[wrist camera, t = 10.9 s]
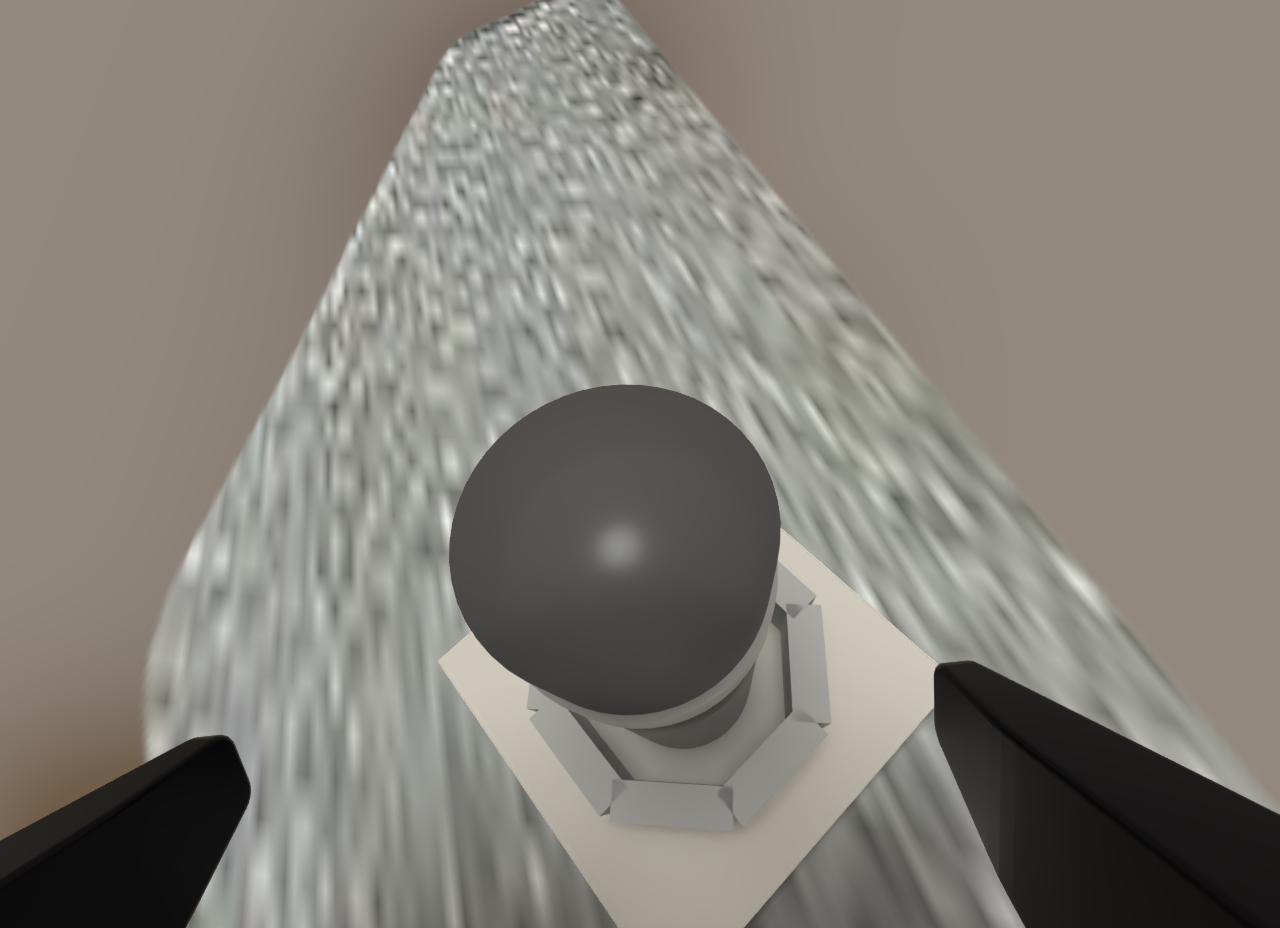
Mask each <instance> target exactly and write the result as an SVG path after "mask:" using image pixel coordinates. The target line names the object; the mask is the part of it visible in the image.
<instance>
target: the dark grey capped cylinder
mask: <svg viewBox="0 0 1280 928" xmlns="http://www.w3.org/2000/svg"><path fill="white" fill-rule="evenodd" d="M780 525H781V521H780V514H779V506H778V500H777V496H776V493H775V489H774V486H773V482H772V480H771V477H770V475H769V473H768V471H767V468H766V466H765V464H764V462H763V460H762V459H761V457H760V456H759V454H758V452H757V451H756V449H755V448H754V446H753V445H752V444H751V443H750V441H749V440H748V439H747V438H746V437H745V435H744V434H743V433H742V432H741V431H740V430H739V429H738V428H737V427H736V426H735V425H734V424H733V423H731V422H730V421H729V420H728V419H727V418H726V417H724V416H723V415H721V414H720V413H719V412H717V411H716V410H714V409H713V408H711V407H709V406H708V405H706V404H704V403H702V402H700V401H698V400H696V399H694V398H691V397H689V396H686V395H684V394H681V393H678V392H675V391H671V390H667V389H663V388H659V387H651V386H644V385H612V386H602V387H597V388H592V389H587V390H582V391H579V392H576V393H573V394H569V395H566V396H564V397H561V398H559V399H557V400H554V401H552V402H550V403H547V404H546V405H544V406H542V407H540V408H538V409H537V410H535V411H533V412H531V413H530V414H528V415H527V416H525V417H524V418H523V419H521V420H520V421H518V422H517V423H516V424H514V425H513V426H512V427H511V428H510V429H509V430H508V431H506V432H505V433H504V434H503V435H502V436H501V437H500V438H499V439H498V440H497V441H496V442H495V443H494V444H493V445H492V446H491V448H490V449H489V450H488V451H487V452H486V453H485V455H484V456H483V458H482V459H481V460H480V462H479V463H478V464H477V466H476V467H475V469H474V471H473V472H472V474H471V476H470V478H469V479H468V481H467V483H466V485H465V487H464V490H463V492H462V494H461V497H460V499H459V502H458V504H457V508H456V512H455V515H454V519H453V522H452V529H451V536H450V549H449V564H450V572H451V580H452V585H453V589H454V592H455V596H456V600H457V603H458V605H459V608H460V610H461V612H462V614H463V617H464V619H465V621H466V623H467V625H468V626H469V628H470V629H471V631H472V633H473V634H474V636H475V637H476V639H477V640H478V641H479V642H480V644H481V645H482V646H483V647H484V648H485V649H486V651H487V652H488V653H489V654H490V655H491V656H492V657H493V658H494V659H495V660H496V661H498V662H499V663H500V664H501V665H502V666H503V667H505V668H506V669H507V670H508V671H510V672H511V673H513V674H515V675H516V676H518V677H519V678H521V679H523V680H524V681H526V682H528V683H530V684H531V685H533V686H534V687H535V688H536V689H537V690H538V691H540V692H541V693H542V694H543V695H544V696H546V697H547V698H549V699H550V700H552V701H554V702H555V703H557V704H558V705H560V706H562V707H564V708H566V709H568V710H570V711H573V712H575V713H577V714H580V715H582V716H584V717H587V718H589V719H591V720H594V721H596V722H599V723H603V724H607V725H610V726H614V727H622V728H625V729H627V730H629V731H631V732H633V733H636V734H638V735H640V736H642V737H644V738H646V739H648V740H650V741H653V742H655V743H657V744H659V745H662V746H666V747H670V748H678V749H689V748H695V747H700V746H703V745H706V744H708V743H710V742H712V741H714V740H716V739H718V738H719V737H721V736H722V735H724V734H725V733H726V732H727V731H728V730H729V729H730V728H731V727H732V726H733V725H734V723H735V722H736V721H737V720H738V718H739V716H740V715H741V713H742V711H743V709H744V707H745V705H746V702H747V698H748V695H749V691H750V686H751V682H752V677H753V672H754V668H755V663H756V659H757V658H758V656H759V654H760V651H761V649H762V647H763V645H764V643H765V640H766V637H767V633H768V630H769V626H770V623H771V619H772V615H773V611H774V607H775V602H776V595H777V589H778V563H777V561H778V555H779V548H780Z"/></svg>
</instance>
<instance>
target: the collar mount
mask: <svg viewBox="0 0 1280 928" xmlns="http://www.w3.org/2000/svg"><path fill="white" fill-rule="evenodd" d="M777 563H778V589H777V595H776V602H775V607H774V611H773V615H772V619H771V623H770V626H769V630H768V633H767V637H766V640H765V643H764V645H763V647H762V649H761V651H760V654H759V656H758V658H757V659H756V663H755V668H754V672H753V677H752V682H751V686H750V691H749V695H748V698H747V702H746V705H745V707H744V709H743V711H742V713H741V715H740V716H739V718H738V720H737V721H736V722H735V723H734V725H733V726H732V727H731V728H730V729H729V730H728V731H727V732H726V733H725V734H724V735H722V736H721V737H719V738H718V739H716V740H714V741H712V742H710V743H708V744H706V745H703V746H700V747H695V748H689V749H678V748H670V747H666V746H662V745H659V744H657V743H655V742H653V741H650V740H648V739H646V738H644V737H642V736H640V735H638V734H636V733H633V732H631V731H629V730H627V729H625V728H622V727H614V726H610V725H607V724H603V723H599V722H596V721H594V720H591V719H589V718H587V717H584V716H582V715H580V714H577V713H575V712H573V711H570V710H568V709H566V708H564V707H562V706H560V705H558V704H557V703H555V702H554V701H552V700H550V699H549V698H547V697H546V696H544V695H543V694H542V693H541V692H540V691H538V690H537V689H536V688H535V687H534V686H533V685H531V684H530V683H528V682H526V681H524V680H523V679H521V678H519V677H518V676H516V675H515V674H513V673H511V672H510V671H508V670H507V669H506V668H505V667H503V666H502V665H501V664H500V663H499V662H498V661H496V660H495V659H494V658H493V657H492V656H491V655H490V654H489V653H488V652H487V651H486V649H485V648H484V647H483V646H482V645H481V644H480V642H479V641H478V640H477V639H476V637H475V636H474V634H473V633H472V632H470V633H469V634H468V635H467V636H466V637H465V638H463V639H462V640H461V641H460V642H459V643H458V644H457V645H455V646H454V647H453V648H452V649H451V650H450V651H448V652H447V653H446V654H445V655H444V656H443V657H442V658H440V659H439V660H438V662H439V664H440V665H441V667H442V668H443V670H444V671H445V673H446V674H447V676H448V677H449V679H450V680H451V682H452V683H453V685H454V686H455V688H456V689H457V691H458V692H459V693H460V695H461V696H462V698H463V699H464V701H465V702H466V704H467V705H468V707H469V708H470V710H471V711H472V713H473V714H474V716H475V717H476V719H477V720H478V722H479V723H480V725H481V726H482V727H483V729H484V730H485V732H486V733H487V735H488V736H489V738H490V739H491V741H492V742H493V744H494V745H495V747H496V748H497V750H498V751H499V753H500V754H501V756H502V757H503V759H504V760H505V761H506V763H507V764H508V766H509V767H510V769H511V770H512V772H513V773H514V775H515V776H516V778H517V779H518V781H519V782H520V784H521V785H522V787H523V788H524V790H525V791H526V792H527V794H528V795H529V797H530V798H531V800H532V801H533V803H534V804H535V806H536V807H537V809H538V810H539V812H540V813H541V815H542V816H543V818H544V819H545V821H546V822H547V824H548V825H549V826H550V828H551V829H552V831H553V832H554V834H555V835H556V837H557V838H558V840H559V841H560V843H561V844H562V846H563V847H564V849H565V850H566V852H567V853H568V855H569V856H570V857H571V859H572V860H573V862H574V863H575V865H576V866H577V868H578V869H579V871H580V872H581V874H582V875H583V877H584V878H585V880H586V881H587V883H588V884H589V886H590V887H591V889H592V890H593V891H594V893H595V894H596V896H597V897H598V899H599V900H600V902H601V903H602V905H603V906H604V908H605V909H606V911H607V912H608V914H609V915H610V917H611V918H612V920H613V921H614V923H615V924H616V925H617V927H618V928H744V927H745V926H746V925H747V924H748V922H749V921H750V920H751V919H752V918H753V917H754V915H755V914H756V913H757V912H758V911H759V910H760V908H761V907H762V906H763V905H764V904H765V903H766V901H767V900H768V899H769V898H770V897H771V896H772V894H773V893H774V892H775V891H776V890H777V889H778V888H779V886H780V885H781V884H782V883H783V882H784V881H785V879H786V878H787V877H788V876H789V875H790V874H791V872H792V871H793V870H794V869H795V868H796V867H797V865H798V864H799V863H800V862H801V861H802V860H803V859H804V857H805V856H806V855H807V854H808V853H809V852H810V850H811V849H812V848H813V847H814V846H815V845H816V843H817V842H818V841H819V840H820V839H821V838H822V836H823V835H824V834H825V833H826V832H827V831H828V829H829V828H830V827H831V826H832V825H833V824H834V823H835V821H836V820H837V819H838V818H839V817H840V816H841V814H842V813H843V812H844V811H845V810H846V809H847V807H848V806H849V805H850V804H851V803H852V802H853V800H854V799H855V798H856V797H857V796H858V795H859V793H860V792H861V791H862V790H863V789H864V788H865V787H866V785H867V784H868V783H869V782H870V781H871V780H872V778H873V777H874V776H875V775H876V774H877V773H878V771H879V770H880V769H881V768H882V767H883V766H884V764H885V763H886V762H887V761H888V760H889V759H890V757H891V756H892V755H893V754H894V753H895V752H896V751H897V749H898V748H899V747H900V746H901V745H902V744H903V742H904V741H905V740H906V739H907V738H908V737H909V735H910V734H911V733H912V732H913V731H914V730H915V728H916V727H917V726H918V725H919V724H920V723H921V721H922V720H923V719H924V718H925V717H926V716H927V715H928V713H929V712H930V711H931V710H932V709H933V708H934V671H935V667H936V666H937V665H938V664H937V663H936V662H935V661H934V660H933V659H931V658H930V657H929V656H928V655H927V654H926V653H925V652H923V651H922V650H921V649H920V648H919V647H918V646H917V645H915V644H914V643H913V642H912V641H911V640H910V639H908V638H907V637H906V636H905V635H904V634H903V633H902V632H900V631H899V630H898V629H897V628H896V627H895V626H894V625H892V624H891V623H890V622H889V621H888V620H887V619H885V618H884V617H883V616H882V615H881V614H880V613H879V612H877V611H876V610H875V609H874V608H873V607H872V606H871V605H869V604H868V603H867V602H866V601H865V600H864V599H862V598H861V597H860V596H859V595H858V594H857V593H856V592H854V591H853V590H852V589H851V588H850V587H849V586H848V585H846V584H845V583H844V582H843V581H842V580H841V579H839V578H838V577H837V576H836V575H835V574H834V573H833V572H831V571H830V570H829V569H828V568H827V567H826V566H825V565H823V564H822V563H821V562H820V561H819V560H818V559H816V558H815V557H814V556H813V555H812V554H811V553H810V552H808V551H807V550H806V549H805V548H804V547H803V546H802V545H800V544H799V543H798V542H797V541H796V540H795V539H793V538H792V537H791V536H790V535H789V534H788V533H787V532H785V531H784V530H783V529H782V528H781V527H780V548H779V555H778V561H777Z"/></svg>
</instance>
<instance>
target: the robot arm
mask: <svg viewBox="0 0 1280 928" xmlns="http://www.w3.org/2000/svg"><path fill="white" fill-rule="evenodd" d="M934 722H935V729H936V733H937V737H938V740H939V743H940V745H941V748H942V750H943V752H944V755H945V757H946V759H947V762H948V764H949V766H950V768H951V771H952V773H953V775H954V778H955V780H956V782H957V785H958V787H959V789H960V791H961V794H962V796H963V798H964V801H965V803H966V805H967V807H968V810H969V812H970V814H971V817H972V819H973V821H974V824H975V826H976V828H977V830H978V833H979V835H980V837H981V840H982V842H983V844H984V846H985V849H986V851H987V853H988V856H989V858H990V860H991V862H992V864H993V866H994V869H995V871H996V873H997V875H998V877H999V879H1000V881H1001V883H1002V885H1003V887H1004V889H1005V891H1006V893H1007V895H1008V896H1009V898H1010V900H1011V902H1012V904H1013V906H1014V908H1015V909H1016V911H1017V913H1018V915H1019V917H1020V918H1021V920H1022V922H1023V924H1024V926H1025V927H1026V928H1280V814H1278V813H1276V812H1274V811H1272V810H1270V809H1268V808H1266V807H1264V806H1262V805H1260V804H1258V803H1256V802H1254V801H1252V800H1250V799H1248V798H1246V797H1244V796H1242V795H1240V794H1238V793H1236V792H1234V791H1232V790H1230V789H1228V788H1226V787H1224V786H1222V785H1220V784H1218V783H1216V782H1214V781H1212V780H1210V779H1208V778H1206V777H1204V776H1202V775H1200V774H1198V773H1196V772H1194V771H1192V770H1190V769H1188V768H1186V767H1184V766H1182V765H1180V764H1178V763H1176V762H1174V761H1172V760H1170V759H1168V758H1166V757H1164V756H1162V755H1160V754H1158V753H1156V752H1154V751H1152V750H1150V749H1148V748H1146V747H1144V746H1142V745H1140V744H1138V743H1136V742H1134V741H1132V740H1130V739H1128V738H1126V737H1124V736H1122V735H1120V734H1118V733H1116V732H1114V731H1112V730H1110V729H1108V728H1106V727H1104V726H1102V725H1100V724H1098V723H1096V722H1094V721H1092V720H1090V719H1088V718H1086V717H1084V716H1082V715H1080V714H1078V713H1076V712H1074V711H1072V710H1070V709H1068V708H1066V707H1064V706H1062V705H1060V704H1058V703H1056V702H1054V701H1052V700H1050V699H1048V698H1046V697H1044V696H1042V695H1040V694H1038V693H1036V692H1034V691H1032V690H1030V689H1028V688H1026V687H1024V686H1022V685H1021V684H1019V683H1017V682H1015V681H1013V680H1011V679H1009V678H1007V677H1005V676H1003V675H1001V674H999V673H997V672H995V671H993V670H991V669H989V668H987V667H985V666H983V665H981V664H979V663H976V662H974V661H958V662H948V663H940V664H939V665H937V666H936V667H935V671H934ZM250 795H251V785H250V781H249V779H248V776H247V774H246V771H245V769H244V766H243V764H242V761H241V759H240V756H239V754H238V751H237V749H236V746H235V744H234V742H233V741H232V740H231V739H230V738H229V737H228V736H224V735H214V736H204V737H196V738H193V739H190V740H188V741H186V742H184V743H182V744H180V745H179V746H177V747H175V748H173V749H171V750H169V751H167V752H165V753H164V754H162V755H160V756H158V757H156V758H154V759H152V760H150V761H149V762H147V763H145V764H143V765H141V766H139V767H138V768H135V769H134V770H132V771H130V772H128V773H126V774H124V775H122V776H120V777H119V778H117V779H115V780H113V781H111V782H109V783H107V784H105V785H104V786H102V787H100V788H98V789H96V790H94V791H92V792H90V793H89V794H87V795H85V796H83V797H81V798H79V799H77V800H75V801H74V802H72V803H70V804H68V805H66V806H65V807H62V808H61V809H59V810H57V811H55V812H53V813H51V814H49V815H47V816H46V817H44V818H42V819H40V820H38V821H36V822H35V823H33V824H31V825H29V826H27V827H25V828H23V829H21V830H19V831H17V832H16V833H14V834H12V835H10V836H8V837H6V838H4V839H3V840H1V841H0V928H186V927H187V925H188V923H189V921H190V919H191V917H192V915H193V913H194V911H195V909H196V907H197V905H198V903H199V901H200V900H201V898H202V896H203V894H204V892H205V890H206V888H207V886H208V884H209V882H210V880H211V878H212V876H213V874H214V872H215V870H216V868H217V866H218V864H219V862H220V860H221V858H222V856H223V854H224V852H225V850H226V848H227V846H228V844H229V842H230V840H231V838H232V836H233V834H234V832H235V830H236V828H237V826H238V824H239V822H240V820H241V818H242V816H243V814H244V812H245V810H246V808H247V806H248V804H249V800H250Z"/></svg>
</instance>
